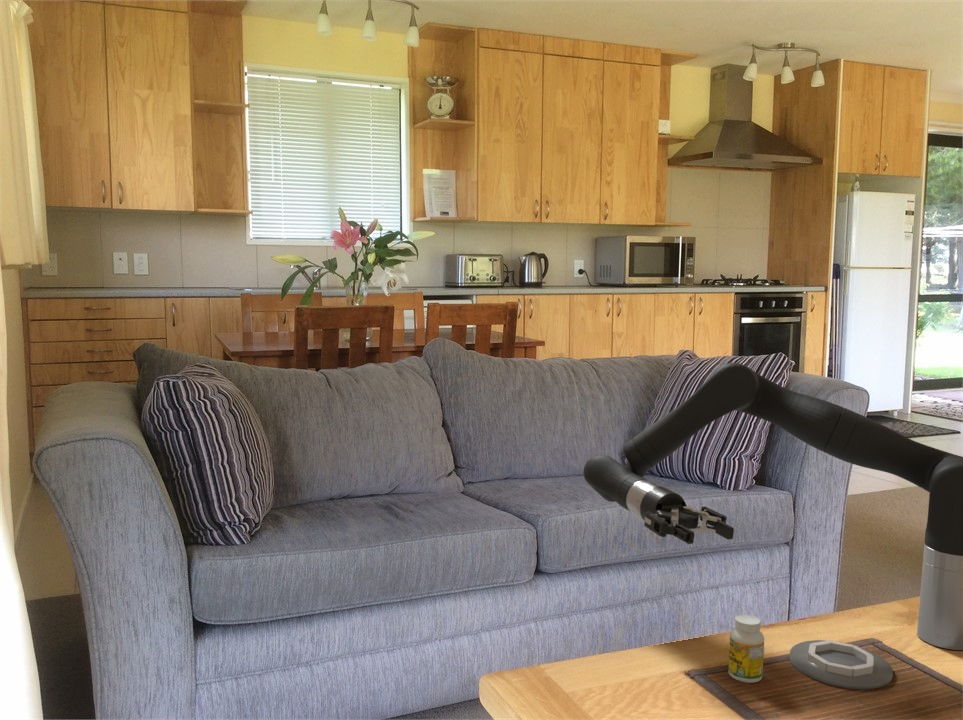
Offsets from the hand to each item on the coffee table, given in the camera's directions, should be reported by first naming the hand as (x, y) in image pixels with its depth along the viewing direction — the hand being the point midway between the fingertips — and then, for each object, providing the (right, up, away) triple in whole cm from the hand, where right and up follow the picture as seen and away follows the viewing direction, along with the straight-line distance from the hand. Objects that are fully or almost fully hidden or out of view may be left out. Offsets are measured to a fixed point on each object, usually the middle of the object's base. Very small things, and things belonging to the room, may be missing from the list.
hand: (712, 536), depth 144 cm
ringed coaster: (+21, -21, -2) cm, 30 cm away
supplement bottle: (+4, -22, -6) cm, 23 cm away
